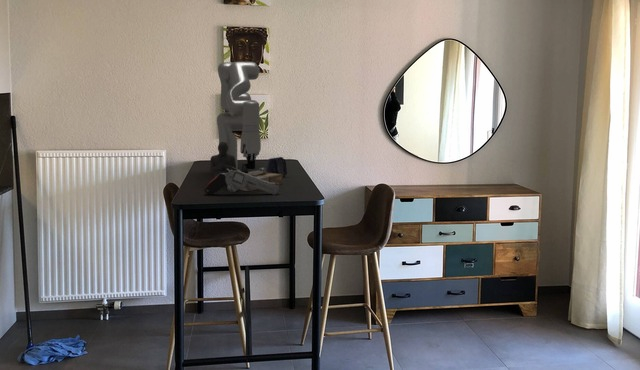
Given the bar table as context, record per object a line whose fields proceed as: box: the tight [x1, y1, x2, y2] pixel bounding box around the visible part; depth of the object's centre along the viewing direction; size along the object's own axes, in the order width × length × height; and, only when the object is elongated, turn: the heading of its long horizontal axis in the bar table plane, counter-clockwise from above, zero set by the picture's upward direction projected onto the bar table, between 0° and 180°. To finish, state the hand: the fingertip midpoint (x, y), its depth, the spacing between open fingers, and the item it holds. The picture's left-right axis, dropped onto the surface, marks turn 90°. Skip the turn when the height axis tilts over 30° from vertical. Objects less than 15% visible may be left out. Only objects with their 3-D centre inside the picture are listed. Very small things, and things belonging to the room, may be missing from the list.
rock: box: [266, 156, 288, 178], centre depth 345 cm, size 10×6×10 cm, turn 142°
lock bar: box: [241, 162, 267, 175], centre depth 319 cm, size 15×3×6 cm, turn 144°
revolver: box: [204, 167, 280, 196], centre depth 294 cm, size 4×29×15 cm, turn 95°
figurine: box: [209, 142, 236, 178], centre depth 320 cm, size 12×8×20 cm, turn 92°
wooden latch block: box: [228, 172, 283, 192], centre depth 317 cm, size 14×26×5 cm, turn 149°
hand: (251, 168), depth 313 cm, fingers closed
